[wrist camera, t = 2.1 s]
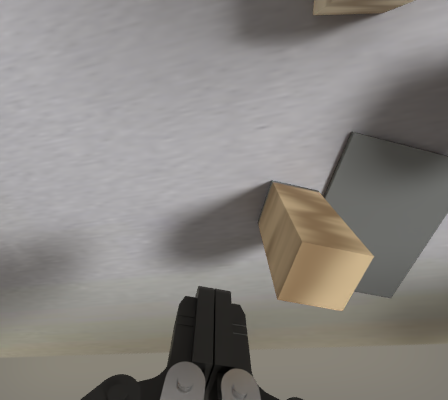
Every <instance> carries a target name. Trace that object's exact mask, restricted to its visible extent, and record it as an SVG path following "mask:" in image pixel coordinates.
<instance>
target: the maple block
mask: <svg viewBox="0 0 448 400" xmlns="http://www.w3.org/2000/svg"><path fill="white" fill-rule="evenodd" d="M413 1H415V0H314V7H313V15H339V14H374V13H384V12H387V11H390V10H392V9H395V8H397V7H400V6H402V5H405V4H407V3H410V2H413Z"/></svg>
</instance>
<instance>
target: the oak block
mask: <svg viewBox="0 0 448 400" xmlns="http://www.w3.org/2000/svg"><path fill="white" fill-rule="evenodd" d="M258 225H259V229H260V233H261V237H262V241H263V245H264V249H265V253H266V256H267V260H268V264H269V268H270V272H271V276H272V280H273V284H274V288H275V292H276V296H277V300H282V301H288V302H294V303H299V304H305V305H311V306H316V307H322V308H328V309H333V310H339V311H343V309H344V308H345V306H346V304H347V302H348V301H349V299H350V297H351V296H352V294H353V292H354V290H355V289H356V287H357V285H358V283H359V282H360V280H361V278H362V277H363V275H364V273H365V271H366V270H367V268H368V266H369V264H370V263H371V261H372V259H373V258H374V256H373V255H372V253H371V252H370V251H369V250H368V249H367V248H366V246H365V245H364V244H363V243H362V242H361V241H360V239H359V238H358V237H357V236H356V235H355V234H354V232H353V231H352V230H351V229H350V228H349V227H348V225H347V224H346V223H345V222H344V221H343V220H342V218H341V217H340V216H339V215H338V214H337V213H336V211H335V210H334V209H333V208H332V207H331V205H330V204H329V203H328V202H327V201H326V200H325V198H324V197H323V196H322V195H321V194H320V193H319V191H317V190H312V189H308V188H303V187H299V186H295V185H290V184H286V183H281V182H277V181H271V184H270V187H269V190H268V193H267V196H266V199H265V202H264V205H263V208H262V211H261V214H260V217H259V220H258Z"/></svg>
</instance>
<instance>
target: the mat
mask: <svg viewBox="0 0 448 400" xmlns="http://www.w3.org/2000/svg"><path fill="white" fill-rule="evenodd" d="M324 198H325V200H326V201H327V202H328V203H329V204H330V205H331V207H332V208H333V209H334V210H335V211H336V213H337V214H338V215H339V216H340V217H341V218H342V220H343V221H344V222H345V223H346V224H347V225H348V227H349V228H350V229H351V230H352V231H353V232H354V234H355V235H356V236H357V237H358V238H359V239H360V241H361V242H362V243H363V244H364V245H365V246H366V248H367V249H368V250H369V251H370V252H371V253H372V255H373V256H374V258H373V259H372V261H371V263H370V264H369V266H368V268H367V270H366V271H365V273H364V275H363V277H362V278H361V280H360V282H359V283H358V285H357V287H356V289H355V290H354V292H360V293H365V294H371V295H376V296H381V297H387V298H391V297H392V296H393V294H394V293H395V291H396V290H397V288H398V287H399V285H400V284H401V282H402V281H403V279H404V278H405V276H406V275H407V273H408V272H409V270H410V269H411V267H412V266H413V264H414V263H415V261H416V260H417V258H418V257H419V255H420V254H421V252H422V251H423V249H424V248H425V246H426V245H427V243H428V242H429V240H430V239H431V237H432V236H433V234H434V233H435V231H436V230H437V228H438V227H439V225H440V224H441V222H442V220H443V219H444V217H445V216H446V214H447V213H448V156H445V155H441V154H437V153H433V152H429V151H425V150H421V149H417V148H414V147H410V146H406V145H402V144H398V143H394V142H390V141H386V140H382V139H378V138H374V137H371V136H367V135H363V134H359V133H355V132H352V133H351V135H350V138H349V140H348V142H347V145H346V147H345V149H344V151H343V154H342V156H341V158H340V161H339V163H338V165H337V168H336V170H335V172H334V174H333V177H332V179H331V181H330V184H329V186H328V188H327V191H326V193H325V195H324Z"/></svg>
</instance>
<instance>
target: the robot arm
mask: <svg viewBox="0 0 448 400" xmlns="http://www.w3.org/2000/svg"><path fill="white" fill-rule="evenodd" d="M81 400H279V399H277V398H275V397H273V396H271V395H269V394H268V393H266V392H264V391H263V390H262V389H261V388H260V387H259V386H258V384H257V382H256V380H255V379H254V377H253V375H252V371H251V364H250V354H249V345H248V336H247V328H246V318H245V314H244V312H243V310H242V308H241V306H240V305H237V304H231V292H230V291H225V290H220V289H213V288H207V287H202V286H198V289H197V293H196V297H189V296H185V297H184V299H183V300H182V301H181V303H180V304H179V308H178V312H177V316H176V321H175V325H174V330H173V336H172V341H171V347H170V353H169V358H168V364H167V367H166V369H165V370H164V371H163V372H162V373H161V374H160V375H158V376H156V377H155V378H152V379H149V380H144V381H140V382H137V381H136V380H135V379H134V378H133V377H131V376H128V375H124V374H120V375H115V376H112V377H110V378H108V379H106V380H105V381H104V382H102V383H101V384H100V385H99V386H97V387H96V388H95V389H94V390H92V391H91V392H90V393H88V394H87V395H86V396H85V397H83V398H82V399H81ZM287 400H303V399H300V398H297V397H292V398H289V399H287Z"/></svg>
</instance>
